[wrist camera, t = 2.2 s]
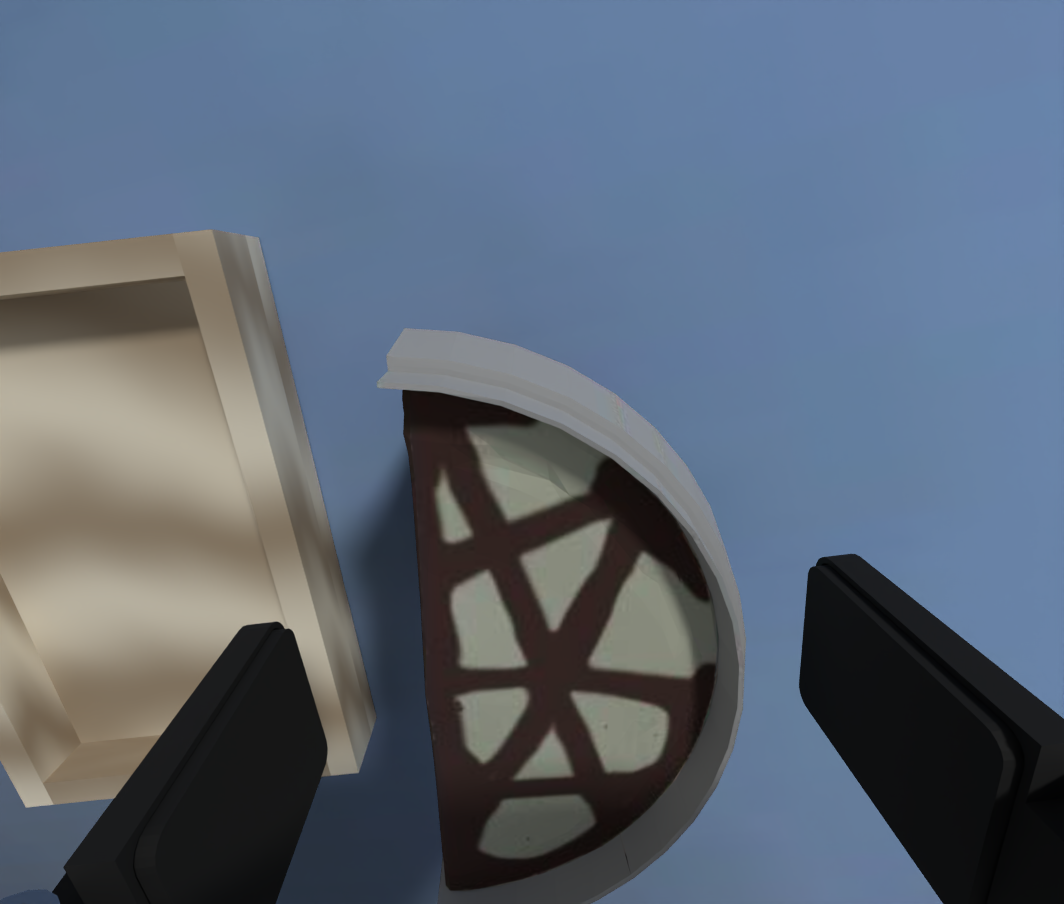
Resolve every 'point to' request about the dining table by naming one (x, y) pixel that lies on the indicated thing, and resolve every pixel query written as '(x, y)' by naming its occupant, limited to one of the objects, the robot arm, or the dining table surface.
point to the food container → (560, 623)
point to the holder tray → (152, 506)
